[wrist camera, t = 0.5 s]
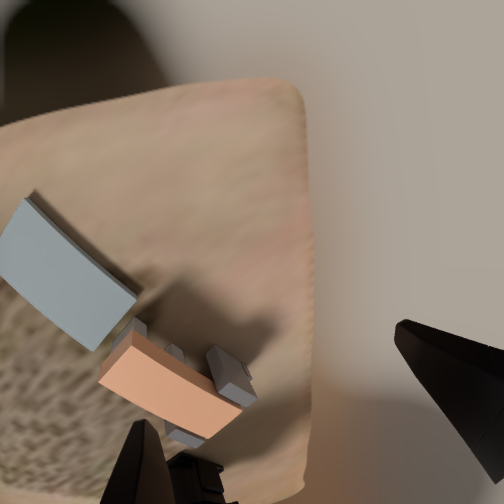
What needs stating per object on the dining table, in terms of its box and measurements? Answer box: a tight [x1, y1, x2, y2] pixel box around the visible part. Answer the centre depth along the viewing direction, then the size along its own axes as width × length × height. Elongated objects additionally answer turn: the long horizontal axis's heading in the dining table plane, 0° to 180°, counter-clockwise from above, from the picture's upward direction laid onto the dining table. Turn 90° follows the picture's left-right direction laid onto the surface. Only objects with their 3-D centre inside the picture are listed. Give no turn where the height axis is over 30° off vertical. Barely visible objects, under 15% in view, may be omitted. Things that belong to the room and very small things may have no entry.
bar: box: [98, 329, 243, 439], centre depth 20 cm, size 4×10×2 cm, turn 43°
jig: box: [111, 317, 258, 449], centre depth 21 cm, size 7×10×5 cm
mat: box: [0, 197, 137, 352], centre depth 19 cm, size 6×11×1 cm, turn 43°
